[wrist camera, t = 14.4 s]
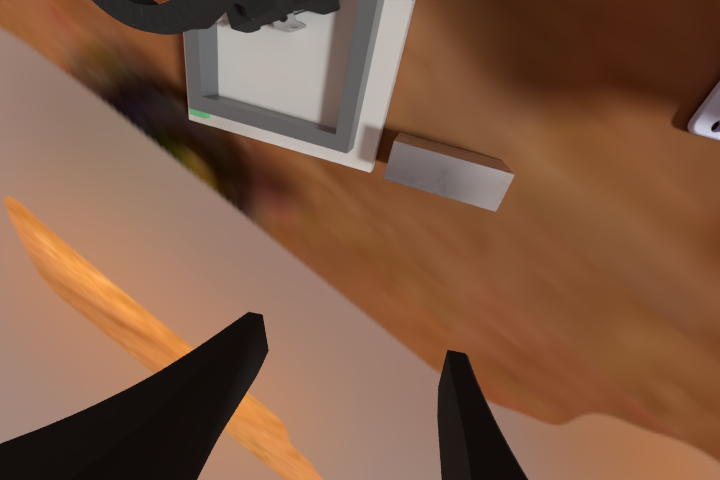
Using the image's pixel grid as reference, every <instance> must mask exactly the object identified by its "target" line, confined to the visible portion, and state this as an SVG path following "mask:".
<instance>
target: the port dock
mask: <svg viewBox="0 0 720 480" xmlns="http://www.w3.org/2000/svg"><path fill="white" fill-rule="evenodd" d="M415 1H416V0H339V5H340V9H339V10H338V11H335V12H332V13H329V14H326V15H321V14H317V13H314V12H310V11H306V12H303V13H300V14H297V15H295V19H296V21H300V22H302V23H304V24H306V27H305V28H303V29H300V30H296V31H293V32H284V31H281V30H278V28H277V29H276V28H275V27H274V24H273V23H270V24H267V25H264V26H261V29H260V30H258V31H255V32H252V33H244V32H240V31H237V30H233V29H232V28H231V26H230V25H227V26H224V27H221V26H220V25H219V22H215V23H214V25H213V26H212V27H210V28H208V29H196V30H189V31H186V32H183V40H184V55H185V69H186V83H187V97H188V111H189V120H192V121H195V122H199V123H202V124H206V125H209V126H213V127H216V128H219V129H223V130H226V131H230V132H233V133H236V134H240V135H243V136H247V137H250V138H254V139H257V140H260V141H264V142H267V143H271V144H274V145H277V146H281V147H284V148H288V149H291V150H295V151H298V152H301V153H305V154H308V155H312V156H315V157H319V158H322V159H325V160H329V161H332V162H336V163H339V164H342V165H346V166H349V167H353V168H356V169H360V170H363V171H366V172H371V171H372V170H373V168H374V164H375V160H376V156H377V152H378V148H379V144H380V140H381V136H382V132H383V128H384V124H385V120H386V116H387V112H388V108H389V104H390V100H391V96H392V92H393V88H394V84H395V80H396V76H397V72H398V68H399V64H400V60H401V56H402V52H403V48H404V44H405V41H406V37H407V33H408V29H409V25H410V21H411V17H412V13H413V9H414V5H415ZM224 20H227V18H226V19H224ZM291 28H294V27H291Z"/></svg>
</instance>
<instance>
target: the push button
mask: <svg viewBox="0 0 720 480" xmlns="http://www.w3.org/2000/svg"><path fill="white" fill-rule="evenodd" d="M92 1H93V2H94V3H95V4H96V5H98V6H99V7H100V8H101V9H102V10H104V11H105V12H106V13H107V14H109V15H110V16H112V17H113V18H115V19H116V20H118V21H120V22H122V23H123V24H125V25H128V26H130V27H132V28H135V29H138V30H141V31H146V32H151V33H157V34H169V35H172V34H179V33H183V32H186V31H189V30H196V29H208V28H210V27H212V26H213V25H214V23H215V22H219V25H220V26H221V27H224V26H227V25H230V26H231V28H232V29H233V30H237V31H240V32H244V33H252V32H255V31H258V30H260V29H261V26H264V25H267V24H270V23H273V24H274V27H275V28H276V29H277V28H278V30H281V31H284V32H293V31H296V30H300V29H303V28H305V27H306V24H304V23H302V22H300V21H296V19H295V15H297V14H300V13H303V12H306V11H310V12H314V13H317V14H321V15H326V14H329V13H332V12H335V11H338V10H339V9H340V5H339V0H170V1H168V2H165V3H162V4H158V3H156V2H155V1H154V0H92ZM226 18H227V20H224V19H226ZM291 27H294V28H291Z"/></svg>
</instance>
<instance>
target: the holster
mask: <svg viewBox="0 0 720 480" xmlns="http://www.w3.org/2000/svg"><path fill="white" fill-rule="evenodd" d="M514 175H515V174H514V173H513V172H512V171H511V170H510V169H509V168H508V166H507V165H506V164H505V163H504V162H503V161H502V160H499V159H495V158H492V157H488V156H484V155H481V154H477V153H474V152H470V151H466V150H463V149H459V148H456V147H452V146H448V145H445V144H441V143H438V142H434V141H430V140H427V139H423V138H420V137H416V136H412V135H409V134H405V133H402V132H400V133H399V134H398V136H397V137H396V138H395V140H394V142H393V146H392V150H391V153H390V157H389V161H388V164H387V168H386V171H385V175H384V179H386V180H389V181H393V182H396V183H400V184H403V185H406V186H410V187H413V188H417V189H420V190H423V191H427V192H430V193H434V194H437V195H440V196H444V197H447V198H451V199H454V200H458V201H461V202H464V203H468V204H471V205H475V206H478V207H481V208H485V209H488V210H492V211H495V212H496V210H497V208H498V206H499V205H500V203H501V201H502V199H503V197H504V195H505V193H506V191H507V189H508V187H509V185H510V183H511V181H512V179H513V177H514Z"/></svg>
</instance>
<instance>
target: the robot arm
mask: <svg viewBox="0 0 720 480" xmlns="http://www.w3.org/2000/svg"><path fill="white" fill-rule="evenodd" d="M717 121H719V125H718V127H717V128H716V129H715V130H712V131H711V127H712V125H713V124H714V123H715V122H717ZM688 130H689V132H691V133H693V134H696V135H700V136H704V137H708V138H712V139H716V140H720V81H719V82H718V83H717V85H716V86H715V87H714V89H713V90H712V91H711V93H710V94H709V95H708V97H707V98H706V99H705V101H704V102H703V103H702V105H701V106H700V107H699V109H698V110H697V111H696V113H695V114H694V115H693V117H692V118H691V119H690V121H689V123H688ZM268 351H269V350H268V344H267V339H266V333H265V326H264V321H263V315H262V314H256V313H252V312H248V313H246V314H245V315H243V316H242V317H241V318H239V319H238V320H236V321H235V322H233V323H232V324H231V325H229V326H228V327H226V328H225V329H224V330H222V331H221V332H219V333H218V334H216V335H215V336H213V337H212V338H211V339H209V340H208V341H206V342H205V343H203V344H202V345H200V346H199V347H197V348H196V349H194V350H193V351H191V352H190V353H188V354H186V355H185V356H183V357H182V358H180V359H179V360H177V361H175V362H174V363H172V364H171V365H169V366H167V367H166V368H164V369H162V370H161V371H159V372H157V373H156V374H154V375H152V376H150V377H149V378H147V379H145V380H143V381H141V382H139V383H138V384H136V385H134V386H132V387H130V388H128V389H126V390H125V391H122V392H120V393H118V394H116V395H114V396H112V397H110V398H108V399H106V400H104V401H102V402H100V403H98V404H96V405H94V406H91V407H89V408H87V409H85V410H83V411H80V412H78V413H76V414H74V415H71V416H69V417H67V418H64V419H62V420H60V421H57V422H55V423H52V424H50V425H48V426H45V427H43V428H40V429H38V430H35V431H33V432H30V433H27V434H25V435H22V436H19V437H17V438H14V439H11V440H9V441H6V442H3V443H1V444H0V480H197V479H198V477H199V474H200V472H201V470H202V469H203V466H204V464H205V463H206V461H207V459H208V456H209V455H210V453H211V451H212V449H213V447H214V445H215V443H216V441H217V440H218V438H219V436H220V434H221V433H222V431H223V429H224V428H225V426H226V425H227V423H228V421H229V420H230V418H231V417H232V415H233V413H234V412H235V410H236V409H237V407H238V405H239V404H240V402H241V401H242V399H243V397H244V396H245V394H246V392H247V391H248V389H249V388H250V386H251V384H252V383H253V381H254V379H255V378H256V376H257V374H258V372H259V370H260V368H261V366H262V364H263V362H264V360H265V357H266V355H267V353H268ZM437 417H438V433H439V447H440V460H441V475H442V480H528V479H527V477H526V476H525V474H524V472H523V470H522V469H521V467H520V465H519V463H518V462H517V460H516V458H515V456H514V455H513V453H512V451H511V449H510V447H509V446H508V444H507V442H506V440H505V438H504V436H503V435H502V433H501V431H500V429H499V427H498V425H497V423H496V421H495V419H494V417H493V415H492V413H491V410H490V408H489V406H488V404H487V402H486V400H485V398H484V396H483V394H482V391H481V389H480V387H479V384H478V382H477V380H476V377H475V375H474V372H473V370H472V367H471V364H470V362H469V359H468V356H467V355H466V354H465V353H461V352H456V351H450V350H447V354H446V358H445V362H444V366H443V370H442V374H441V378H440V382H439V386H438V415H437Z"/></svg>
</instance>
